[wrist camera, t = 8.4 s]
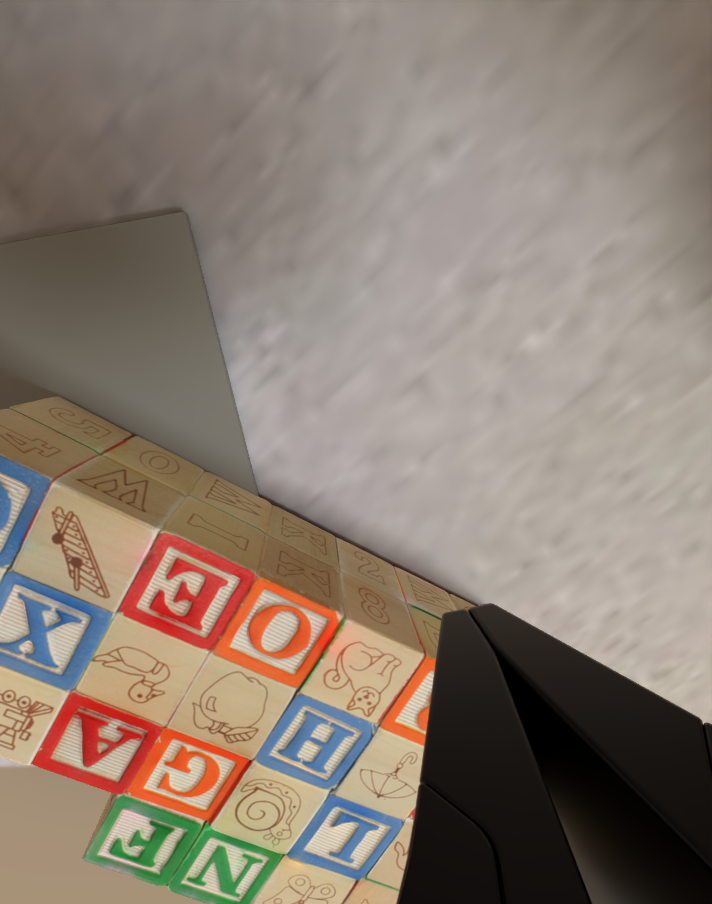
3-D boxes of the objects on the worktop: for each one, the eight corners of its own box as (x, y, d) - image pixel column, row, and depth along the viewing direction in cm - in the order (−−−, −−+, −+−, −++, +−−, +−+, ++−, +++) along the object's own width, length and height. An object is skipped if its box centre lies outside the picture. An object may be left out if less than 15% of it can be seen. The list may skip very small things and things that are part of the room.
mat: (187, 213, 17) (184, 211, 17) (294, 633, 22) (294, 639, 21) (-152, 274, 16) (-163, 273, 16) (33, 690, 21) (28, 697, 21)
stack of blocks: (59, 388, 18) (-62, 640, 20) (-69, 416, 12) (-227, 776, 14) (502, 619, 22) (367, 805, 24) (575, 725, 16) (387, 963, 18)
